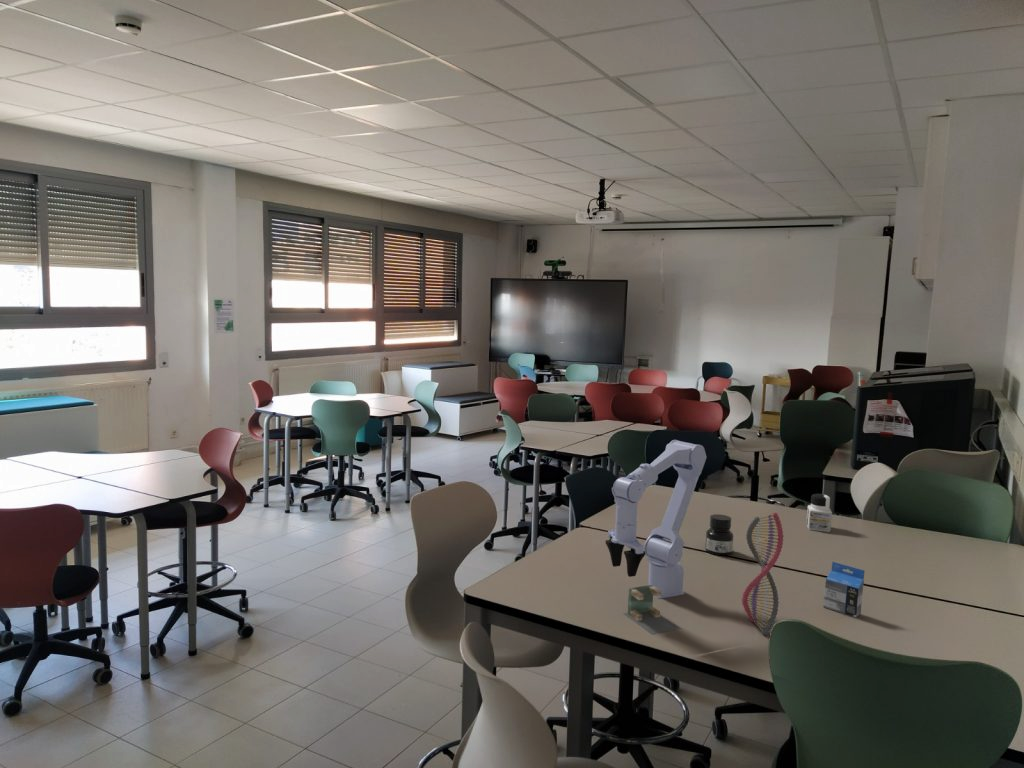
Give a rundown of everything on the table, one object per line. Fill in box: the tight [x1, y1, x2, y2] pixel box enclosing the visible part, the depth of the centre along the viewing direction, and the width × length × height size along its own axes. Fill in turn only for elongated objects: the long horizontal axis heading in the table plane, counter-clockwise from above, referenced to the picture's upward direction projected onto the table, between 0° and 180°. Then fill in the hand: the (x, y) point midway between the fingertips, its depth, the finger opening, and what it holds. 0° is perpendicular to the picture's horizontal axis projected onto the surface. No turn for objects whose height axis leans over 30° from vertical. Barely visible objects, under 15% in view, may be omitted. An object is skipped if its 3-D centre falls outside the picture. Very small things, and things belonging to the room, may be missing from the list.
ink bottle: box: [704, 513, 734, 556], centre depth 239 cm, size 10×9×12 cm
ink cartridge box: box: [823, 561, 865, 618], centre depth 193 cm, size 9×4×12 cm, turn 45°
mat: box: [623, 612, 682, 635], centre depth 183 cm, size 9×13×1 cm
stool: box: [627, 584, 661, 621], centre depth 186 cm, size 5×7×7 cm, turn 114°
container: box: [806, 493, 833, 533], centre depth 269 cm, size 8×8×13 cm
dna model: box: [741, 511, 784, 636], centre depth 180 cm, size 9×9×30 cm
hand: (623, 570), depth 192 cm, fingers open, 7 cm apart
